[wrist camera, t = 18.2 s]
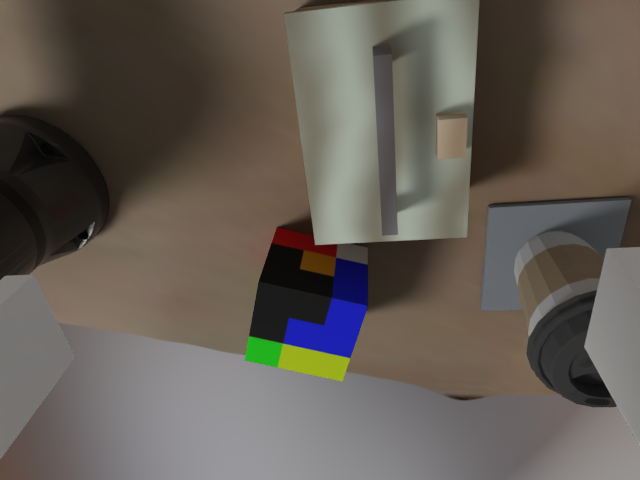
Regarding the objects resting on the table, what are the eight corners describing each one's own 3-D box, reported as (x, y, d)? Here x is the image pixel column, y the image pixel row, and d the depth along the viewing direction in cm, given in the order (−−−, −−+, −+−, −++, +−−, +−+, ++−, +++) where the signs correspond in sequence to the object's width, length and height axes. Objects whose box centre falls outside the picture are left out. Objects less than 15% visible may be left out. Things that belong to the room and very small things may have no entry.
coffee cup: (482, 298, 52) (519, 410, 39) (507, 206, 46) (560, 303, 33) (587, 307, 52) (660, 423, 39) (626, 215, 46) (728, 316, 33)
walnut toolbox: (322, 204, 49) (310, 267, 39) (298, 4, 39) (275, 19, 29) (452, 196, 47) (475, 260, 37) (459, -15, 38) (492, -6, 28)
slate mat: (480, 307, 54) (481, 311, 53) (488, 205, 47) (489, 207, 47) (602, 304, 52) (605, 307, 51) (628, 197, 45) (631, 199, 45)
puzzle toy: (367, 247, 51) (367, 305, 42) (346, 316, 56) (342, 381, 48) (277, 226, 51) (258, 281, 42) (263, 298, 56) (244, 360, 47)
